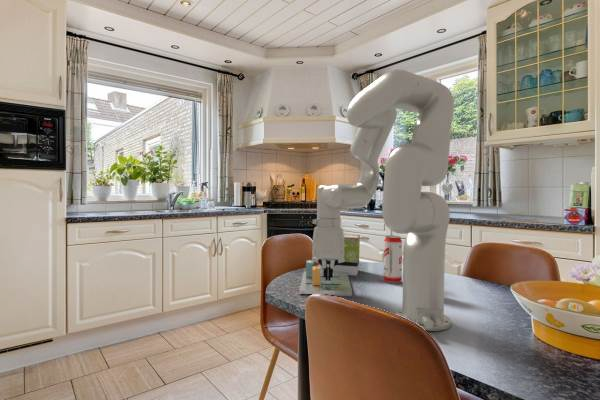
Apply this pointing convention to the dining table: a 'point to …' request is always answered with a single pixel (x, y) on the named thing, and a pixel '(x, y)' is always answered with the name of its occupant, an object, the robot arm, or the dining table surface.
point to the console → (327, 285)
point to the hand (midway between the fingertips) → (328, 279)
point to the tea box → (348, 256)
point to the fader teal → (309, 268)
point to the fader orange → (316, 276)
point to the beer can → (392, 259)
